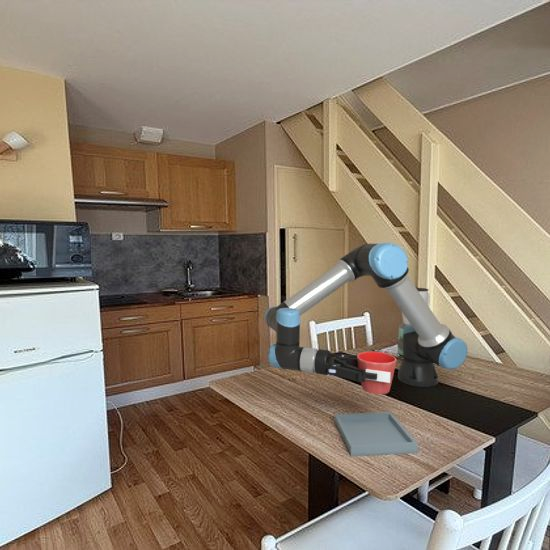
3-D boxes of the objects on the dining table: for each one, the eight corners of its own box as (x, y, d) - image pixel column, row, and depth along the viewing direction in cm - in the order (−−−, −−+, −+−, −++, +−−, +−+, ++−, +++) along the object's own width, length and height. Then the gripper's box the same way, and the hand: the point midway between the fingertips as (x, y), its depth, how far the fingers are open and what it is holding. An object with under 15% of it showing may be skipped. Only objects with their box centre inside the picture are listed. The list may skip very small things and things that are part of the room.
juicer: (411, 364, 162) (413, 289, 159) (389, 356, 173) (390, 286, 171) (437, 357, 171) (439, 286, 168) (414, 350, 183) (416, 284, 180)
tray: (390, 419, 110) (390, 411, 109) (418, 452, 92) (418, 443, 92) (334, 421, 108) (334, 414, 108) (351, 456, 91) (351, 447, 90)
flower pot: (390, 400, 94) (391, 365, 93) (351, 391, 100) (351, 358, 99) (399, 387, 103) (400, 355, 102) (363, 379, 109) (363, 349, 108)
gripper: (326, 362, 119) (395, 371, 110) (305, 385, 98) (387, 399, 89) (326, 340, 118) (395, 348, 109) (305, 359, 98) (388, 371, 89)
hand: (392, 371), depth 99 cm, fingers closed on flower pot, 10 cm apart
